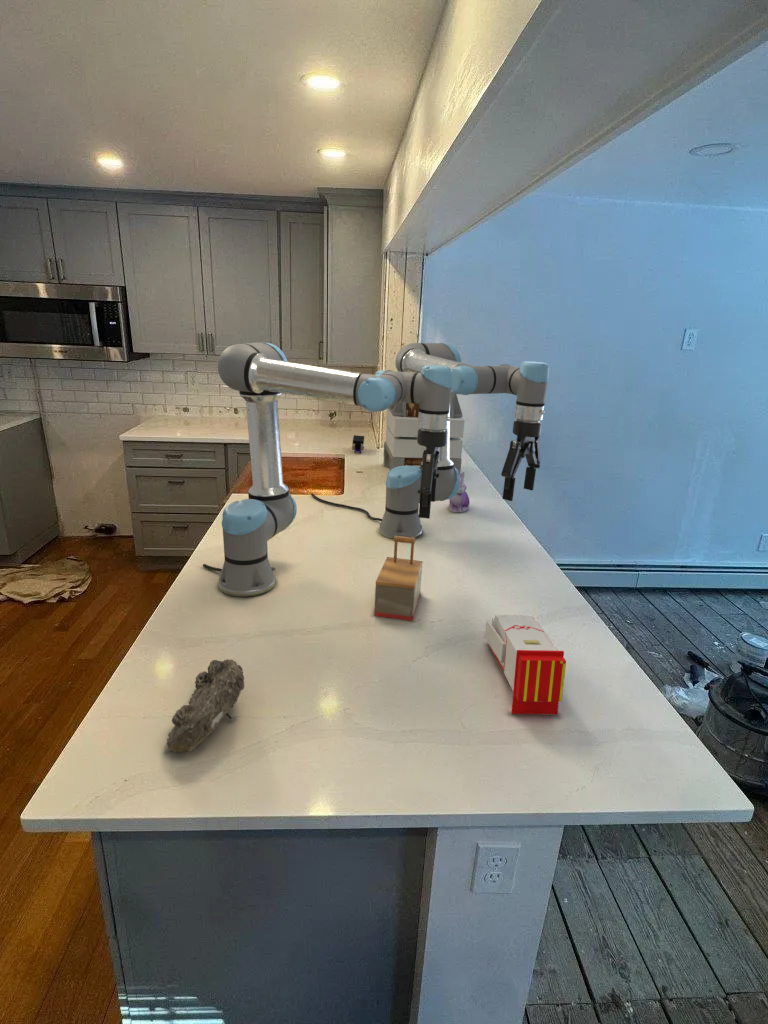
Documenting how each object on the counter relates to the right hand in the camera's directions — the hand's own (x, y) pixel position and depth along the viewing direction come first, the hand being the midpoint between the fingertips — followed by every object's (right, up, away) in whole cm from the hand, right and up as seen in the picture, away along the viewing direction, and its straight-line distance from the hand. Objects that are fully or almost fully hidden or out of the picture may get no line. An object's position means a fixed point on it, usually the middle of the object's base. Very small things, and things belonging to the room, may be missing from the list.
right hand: (518, 494), depth 162 cm
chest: (-35, -30, -9) cm, 47 cm away
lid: (-34, -21, -12) cm, 42 cm away
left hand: (-27, -4, -13) cm, 30 cm away
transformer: (-21, +14, +113) cm, 116 cm away
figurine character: (-53, +28, +149) cm, 161 cm away
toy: (-9, -41, -37) cm, 55 cm away
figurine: (-8, -4, +66) cm, 66 cm away
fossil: (-71, -44, -54) cm, 99 cm away
